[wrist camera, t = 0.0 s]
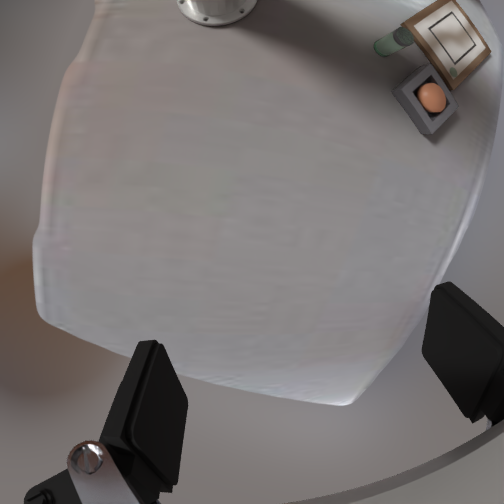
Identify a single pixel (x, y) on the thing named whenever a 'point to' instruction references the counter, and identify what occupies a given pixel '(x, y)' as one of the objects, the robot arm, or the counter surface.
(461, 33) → the drawing board
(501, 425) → the robot arm
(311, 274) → the counter surface
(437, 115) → the button housing
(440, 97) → the button
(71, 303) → the counter surface
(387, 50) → the sage green marker
